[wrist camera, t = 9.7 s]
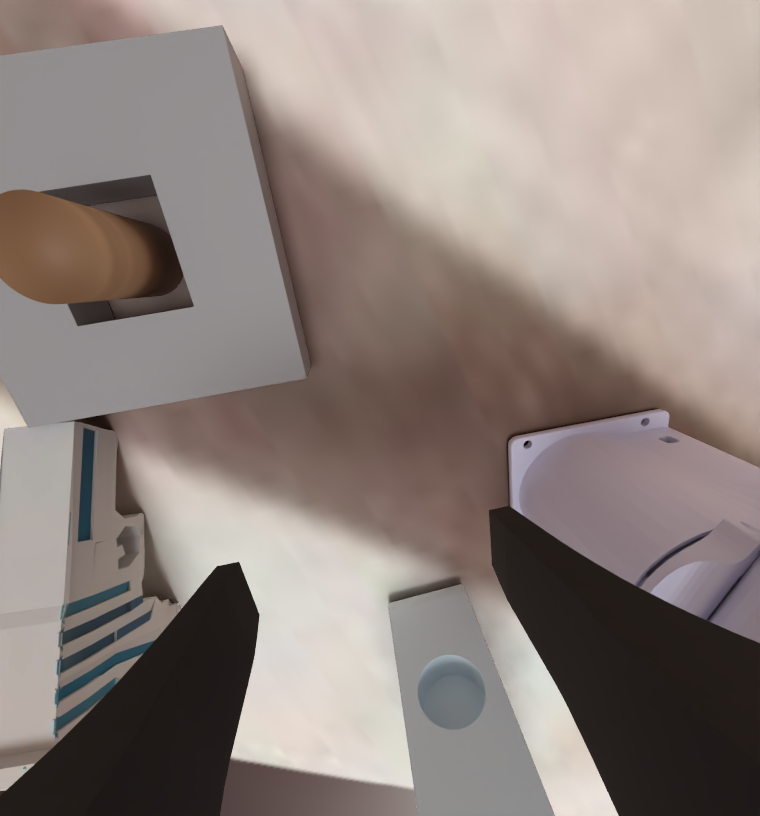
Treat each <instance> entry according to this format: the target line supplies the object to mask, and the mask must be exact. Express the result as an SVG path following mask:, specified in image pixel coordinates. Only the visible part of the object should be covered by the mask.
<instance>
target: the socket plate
mask: <svg viewBox="0 0 760 816" xmlns="http://www.w3.org/2000/svg"><path fill="white" fill-rule="evenodd" d="M22 189H25V190H33V191H36V192H40V193H44V194H47V195H51V196H54V197H58V198H61V199H64V200H68V201H71V202H75V203H78V204H82V205H85V206H88V205H95V204H101V203H108V202H114V201H120V200H127V199H133V198H140V197H146V196H153V195H157V196H158V199H159V202H160V205H161V208H162V211H163V214H164V217H165V220H166V223H167V226H168V229H169V232H170V235H171V238H172V241H173V244H174V247H175V250H176V253H177V256H178V259H179V262H180V265H181V268H182V272H183V275H184V278H185V281H186V284H187V287H188V290H189V293H190V296H191V299H192V302H193V305H194V307H189V308H183V309H177V310H171V311H165V312H159V313H154V314H148V315H142V316H136V317H130V318H124V319H118V320H115V318H114V316H113V313H112V311H111V308H110V306H109V303H108V301H107V300H105V301H93V302H81V303H69V304H46V303H41V302H37V301H34V300H32V299H29V298H27V297H25V296H23V295H21V294H19V293H18V292H16V291H15V290H13V289H12V288H10V287H9V286H8V285H7V284H6V283H5V282H4V281H3V280H2V279H1V278H0V377H1V379H2V381H3V383H4V384H5V386H6V388H7V390H8V392H9V393H10V395H11V397H12V399H13V401H14V402H15V404H16V406H17V408H18V410H19V412H20V413H21V415H22V417H23V419H24V421H25V422H26V424H27V426H28V428H32V427H37V426H43V425H49V424H54V423H60V422H65V421H71V420H77V419H82V418H88V417H93V416H99V415H105V414H110V413H116V412H121V411H127V410H133V409H138V408H144V407H149V406H155V405H161V404H166V403H172V402H177V401H183V400H189V399H194V398H200V397H205V396H211V395H217V394H222V393H228V392H233V391H239V390H245V389H250V388H256V387H261V386H267V385H273V384H278V383H284V382H289V381H295V380H301V379H306V378H307V376H308V373H309V370H310V368H311V363H310V359H309V354H308V350H307V346H306V341H305V337H304V333H303V328H302V324H301V320H300V315H299V311H298V307H297V302H296V298H295V294H294V289H293V285H292V281H291V276H290V272H289V268H288V263H287V259H286V255H285V250H284V246H283V242H282V237H281V233H280V229H279V224H278V220H277V216H276V211H275V207H274V203H273V198H272V194H271V190H270V185H269V181H268V177H267V172H266V168H265V163H264V159H263V155H262V150H261V146H260V142H259V137H258V133H257V129H256V124H255V120H254V116H253V111H252V107H251V103H250V98H249V94H248V90H247V85H246V81H245V77H244V72H243V68H242V66H241V64H240V62H239V60H238V58H237V56H236V53H235V51H234V49H233V47H232V45H231V43H230V41H229V39H228V36H227V34H226V32H225V30H224V28H223V26H222V25H221V26H214V27H207V28H200V29H192V30H185V31H178V32H170V33H163V34H156V35H148V36H141V37H134V38H127V39H119V40H112V41H105V42H97V43H90V44H83V45H76V46H68V47H61V48H54V49H46V50H39V51H32V52H25V53H17V54H10V55H3V56H0V194H1V193H4V192H7V191H11V190H22Z"/></svg>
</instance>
